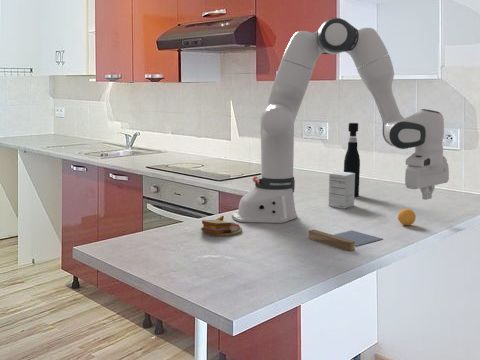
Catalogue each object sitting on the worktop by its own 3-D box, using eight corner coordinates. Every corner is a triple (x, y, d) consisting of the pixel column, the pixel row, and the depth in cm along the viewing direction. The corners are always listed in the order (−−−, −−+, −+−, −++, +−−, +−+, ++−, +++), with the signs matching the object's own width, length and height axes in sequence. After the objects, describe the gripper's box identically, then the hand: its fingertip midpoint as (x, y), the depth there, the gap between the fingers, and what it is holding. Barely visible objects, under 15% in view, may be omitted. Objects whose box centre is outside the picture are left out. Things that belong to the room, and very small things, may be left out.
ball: (401, 227, 179) (402, 210, 178) (394, 223, 185) (395, 207, 184) (418, 226, 180) (419, 210, 179) (410, 222, 185) (411, 206, 184)
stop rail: (349, 251, 154) (350, 242, 153) (308, 238, 166) (308, 230, 166) (354, 249, 155) (354, 241, 154) (313, 237, 167) (313, 229, 167)
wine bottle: (356, 194, 233) (359, 122, 228) (360, 197, 227) (363, 123, 222) (341, 194, 233) (343, 122, 228) (344, 197, 227) (347, 123, 221)
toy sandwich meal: (250, 233, 173) (250, 218, 172) (215, 241, 165) (215, 225, 164) (225, 225, 183) (225, 211, 182) (191, 232, 174) (191, 217, 173)
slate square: (356, 246, 158) (356, 245, 158) (325, 237, 168) (325, 236, 168) (382, 239, 166) (382, 238, 166) (351, 230, 175) (351, 230, 175)
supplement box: (337, 203, 216) (338, 170, 214) (354, 205, 211) (355, 172, 209) (327, 206, 210) (328, 173, 208) (345, 208, 206) (346, 175, 204)
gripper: (438, 154, 193) (436, 193, 196) (402, 160, 181) (400, 201, 183) (454, 156, 189) (452, 196, 191) (419, 162, 176) (417, 204, 179)
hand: (426, 198), depth 187 cm, fingers closed
